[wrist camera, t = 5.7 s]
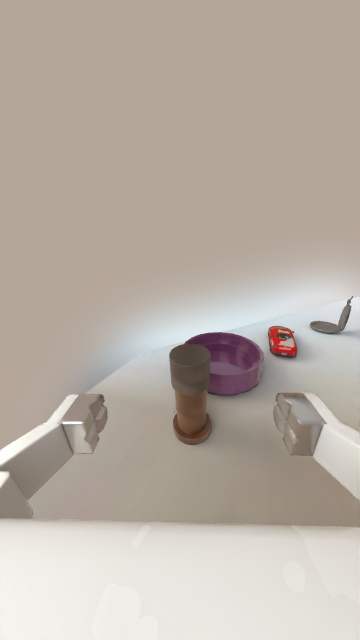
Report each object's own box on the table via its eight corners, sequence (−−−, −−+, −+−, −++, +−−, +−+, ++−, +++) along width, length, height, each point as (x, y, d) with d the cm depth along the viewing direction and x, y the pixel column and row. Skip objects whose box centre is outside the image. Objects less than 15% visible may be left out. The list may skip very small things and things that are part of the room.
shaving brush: (208, 411, 29) (209, 342, 24) (212, 444, 24) (215, 366, 20) (174, 411, 29) (169, 343, 25) (172, 444, 24) (165, 367, 20)
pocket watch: (306, 323, 56) (313, 290, 52) (339, 325, 54) (349, 291, 50) (317, 336, 49) (327, 298, 45) (356, 338, 47) (369, 299, 43)
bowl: (247, 348, 45) (248, 331, 43) (274, 396, 31) (278, 374, 29) (183, 349, 46) (182, 333, 44) (181, 397, 32) (180, 375, 30)
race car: (267, 332, 53) (269, 318, 51) (289, 334, 51) (292, 320, 49) (268, 357, 41) (271, 340, 40) (297, 361, 39) (300, 344, 38)
